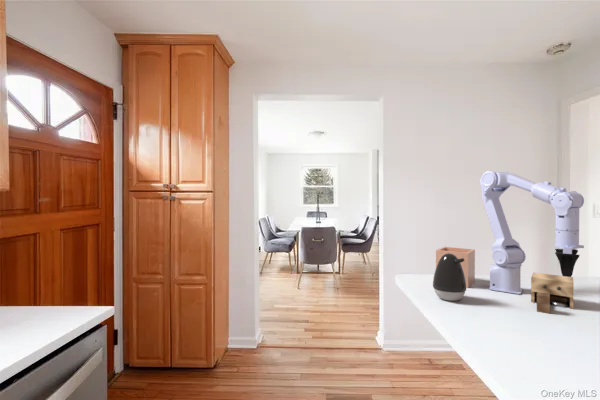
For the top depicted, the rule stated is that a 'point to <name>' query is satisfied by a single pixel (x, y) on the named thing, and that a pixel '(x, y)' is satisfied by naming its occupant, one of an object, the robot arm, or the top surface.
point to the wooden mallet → (547, 301)
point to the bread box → (552, 286)
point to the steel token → (559, 303)
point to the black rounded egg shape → (449, 278)
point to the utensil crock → (467, 264)
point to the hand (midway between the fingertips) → (566, 274)
